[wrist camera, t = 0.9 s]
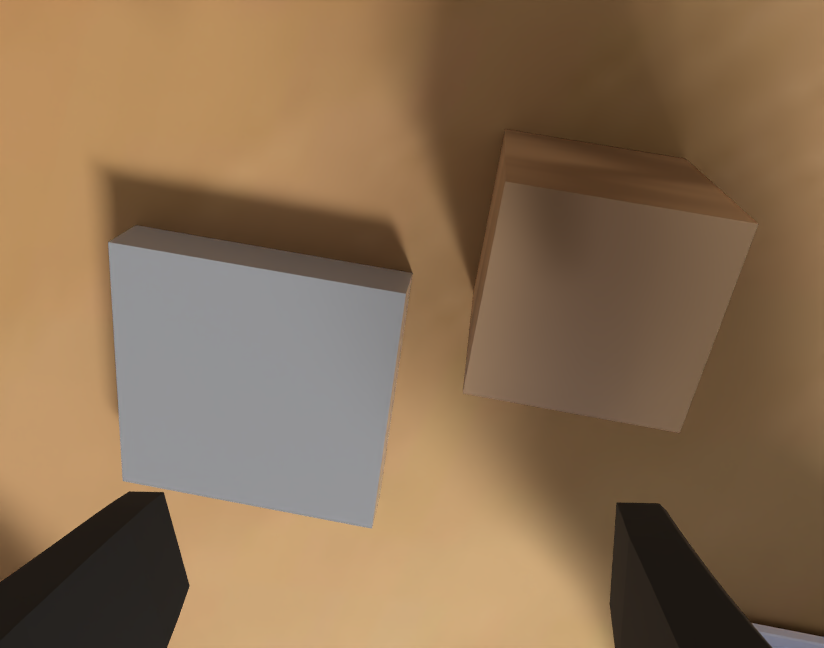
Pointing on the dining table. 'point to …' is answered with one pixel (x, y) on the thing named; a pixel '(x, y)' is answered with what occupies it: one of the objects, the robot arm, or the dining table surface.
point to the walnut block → (601, 281)
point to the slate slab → (255, 372)
